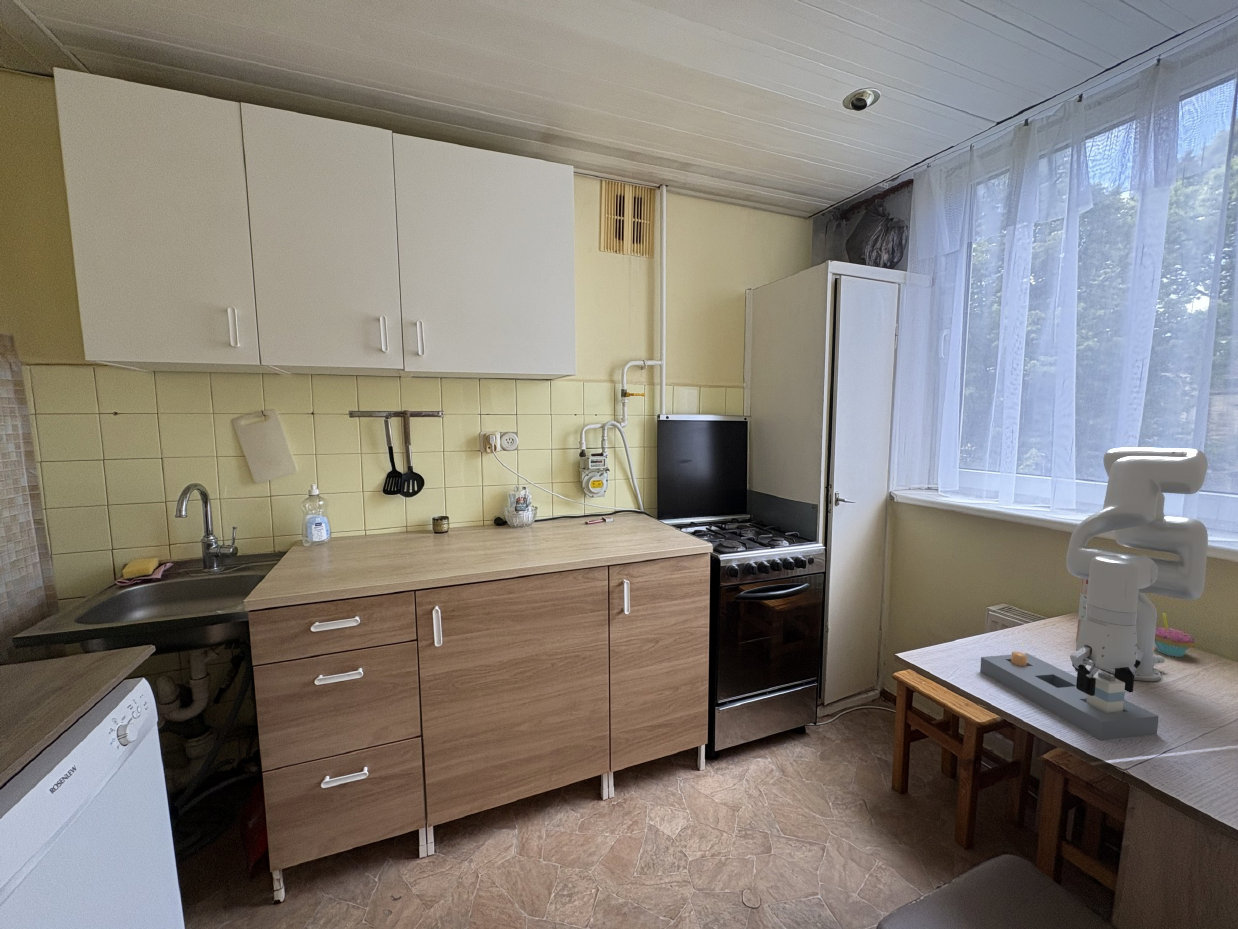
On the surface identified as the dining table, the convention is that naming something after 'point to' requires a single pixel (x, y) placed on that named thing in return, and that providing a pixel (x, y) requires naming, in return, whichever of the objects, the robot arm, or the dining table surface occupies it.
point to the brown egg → (1019, 659)
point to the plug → (1107, 694)
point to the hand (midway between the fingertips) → (1104, 690)
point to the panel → (1068, 698)
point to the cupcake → (1172, 640)
